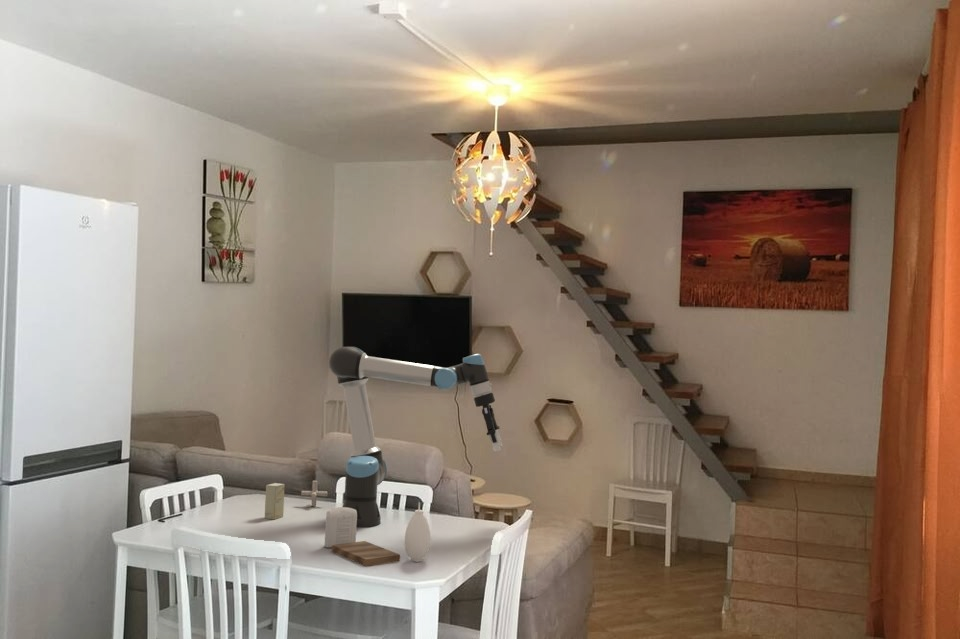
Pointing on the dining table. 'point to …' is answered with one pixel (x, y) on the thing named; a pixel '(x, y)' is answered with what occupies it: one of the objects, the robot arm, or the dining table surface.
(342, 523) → the beige engraved tablet
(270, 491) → the skincare box
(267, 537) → the dining table surface
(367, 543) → the walnut board
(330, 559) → the dining table surface
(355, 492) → the robot arm
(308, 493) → the pipe connector
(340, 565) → the dining table surface
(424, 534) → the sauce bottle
